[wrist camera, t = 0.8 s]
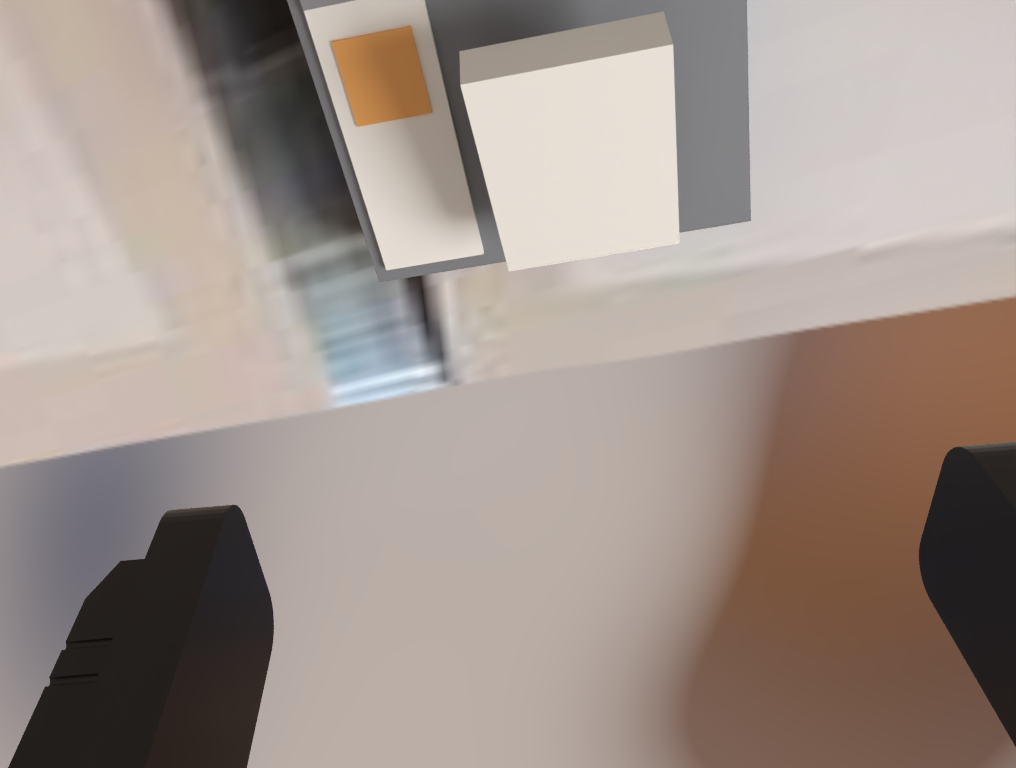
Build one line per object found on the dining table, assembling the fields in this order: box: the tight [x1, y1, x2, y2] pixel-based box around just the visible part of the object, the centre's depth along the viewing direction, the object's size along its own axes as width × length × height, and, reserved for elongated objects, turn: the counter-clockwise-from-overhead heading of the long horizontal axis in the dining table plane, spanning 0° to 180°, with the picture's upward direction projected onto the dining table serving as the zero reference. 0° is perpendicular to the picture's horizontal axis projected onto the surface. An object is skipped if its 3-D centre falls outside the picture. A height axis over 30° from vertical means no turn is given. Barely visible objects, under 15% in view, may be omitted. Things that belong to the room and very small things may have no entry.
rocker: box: [459, 11, 680, 271], centre depth 23 cm, size 6×5×1 cm
